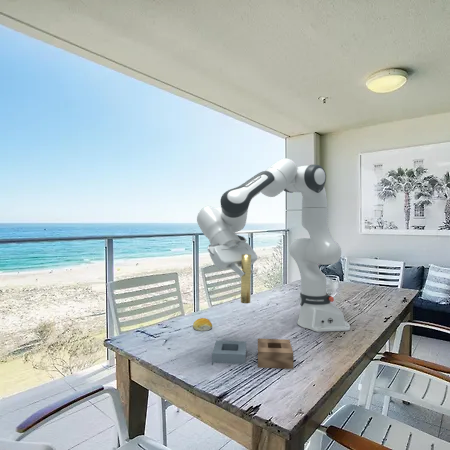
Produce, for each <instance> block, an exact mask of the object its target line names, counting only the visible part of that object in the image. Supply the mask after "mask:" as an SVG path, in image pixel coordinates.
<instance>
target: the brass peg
mask: <svg viewBox="0 0 450 450" xmlns="http://www.w3.org/2000/svg"><path fill="white" fill-rule="evenodd" d="M240 268H241V269H243V270H244V272H245V273H246V274H245V275H244V276H242V277H240V303H241V304H250V303H251V292H252V291H251V290H252V289H251V287H252V286H251V284H252V283H251V282H252V280H251V279H252V275H251V268H252V264H251V255H249V254H242V262H241V266H240Z"/></svg>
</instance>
